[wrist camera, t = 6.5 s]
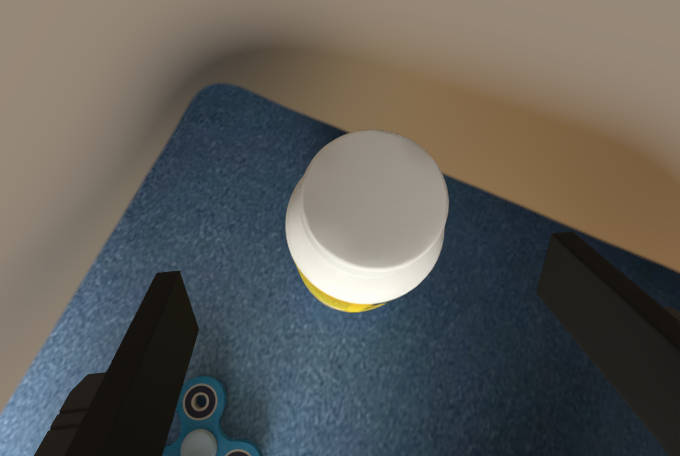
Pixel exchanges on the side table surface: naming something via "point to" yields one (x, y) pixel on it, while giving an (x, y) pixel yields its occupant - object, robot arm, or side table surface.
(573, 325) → the robot arm
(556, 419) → the side table surface
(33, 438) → the side table surface
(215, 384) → the toy
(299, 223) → the pill bottle
